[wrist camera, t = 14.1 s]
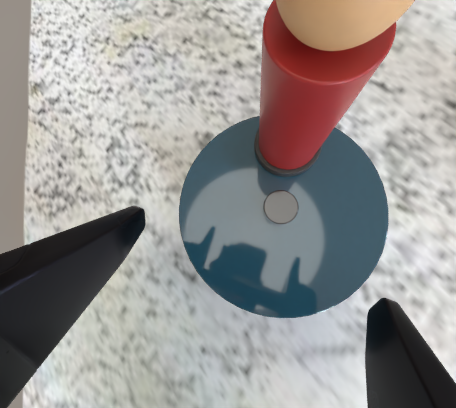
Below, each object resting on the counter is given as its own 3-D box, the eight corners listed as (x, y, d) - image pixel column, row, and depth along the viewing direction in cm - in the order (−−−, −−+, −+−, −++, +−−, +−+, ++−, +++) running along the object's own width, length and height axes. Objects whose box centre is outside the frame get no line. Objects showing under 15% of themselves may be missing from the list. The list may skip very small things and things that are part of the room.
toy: (281, 189, 17) (377, 11, 4) (241, 141, 18) (200, -151, 4) (333, 150, 17) (630, -179, 3) (291, 104, 18) (404, -306, 4)
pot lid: (298, 358, 16) (306, 382, 14) (146, 227, 19) (128, 225, 16) (422, 193, 17) (454, 185, 14) (259, 87, 19) (259, 63, 17)
